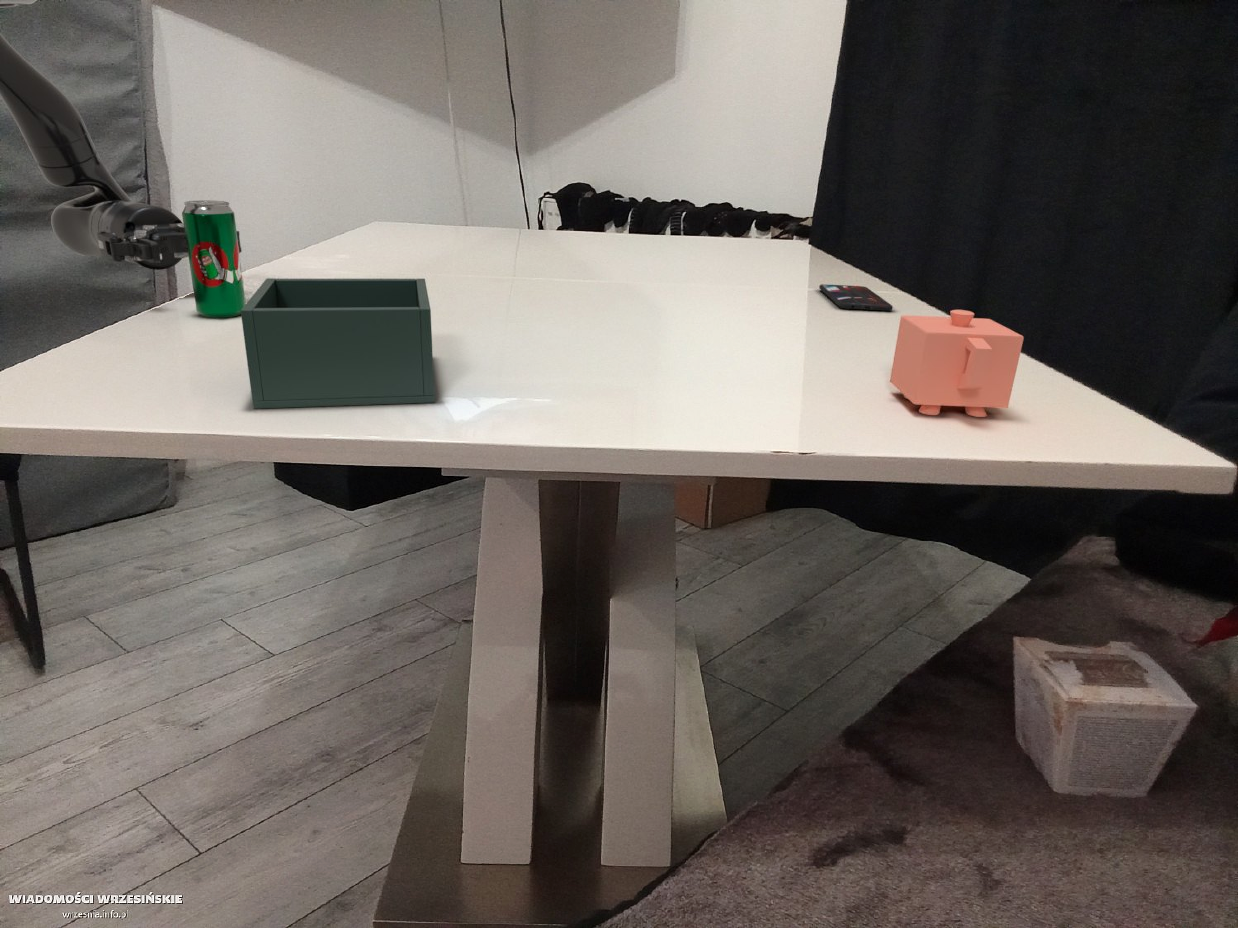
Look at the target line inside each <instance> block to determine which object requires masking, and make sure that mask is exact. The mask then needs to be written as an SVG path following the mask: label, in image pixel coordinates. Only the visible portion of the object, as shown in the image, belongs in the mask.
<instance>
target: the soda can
mask: <svg viewBox="0 0 1238 928" xmlns="http://www.w3.org/2000/svg"><path fill="white" fill-rule="evenodd" d="M183 203H184V205H185V206H184V208H183V210H182V213H181V216H182V223H183V224H184V230H185V237H186V243H187V250H188V257H187V258H188V262H189V263H188V264H189V270H190V277H191V282H192V289H193V296H194V303H195V310H196V311H197V312H198V314H199V315H201V316H203V317H205V318H211V319H224V318H226V319H227V318H234V317H238V316H241V310H242V308H243V307H244V306H245V305H246V303H247V302H246V294H245V288H244V280H243V272H242V263H241V257H240V253H239V247H238V239H237V231H238V230H237V224H236V215H235V212H234V210H233V209H232V208H231V206H230V202H229V201H226V200H225V201H224V200H201V199H200V200H188V201H187V200H186V201H184V202H183Z"/></svg>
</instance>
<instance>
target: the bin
mask: <svg viewBox="0 0 1238 928" xmlns="http://www.w3.org/2000/svg"><path fill="white" fill-rule="evenodd" d="M431 309H432V308H431V305H430V299H429V294H428V288H427V282H426V279H425V278H273V277H272V278H269V277H268V278H265V279H264V281H263V282H262V283H261V284H260V286H259V287H258V288H257V290H255V292H254V293H253V294H252V296H250V299H249V300H248V301H247V302H246V305H245V306H244V307H243V308H242V310H241V315H240V317H241V323H242V331H243V340H244V346H245V347H244V348H245V354H246V355H245V356H246V362H247V370H248V377H249V386H250V393H251V401H252V408H253V409H255V410H256V409H285V408H286V409H287V408H312V407H313V408H314V407H317V408H318V407H340V406H343V407H344V406H346V407H347V406H370V405H371V406H373V405H400V404H401V405H403V404H404V405H405V404H429V403H430V404H431V403H435V401H436V400H435V381H434V380H435V379H434V378H435V377H434V357H433V355H434V354H433V334H432V333H433V331H432V311H431Z"/></svg>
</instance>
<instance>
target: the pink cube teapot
mask: <svg viewBox="0 0 1238 928" xmlns="http://www.w3.org/2000/svg"><path fill="white" fill-rule="evenodd" d="M949 315H950V316H934V315H933V316H932V315H931V316H930V315H911V314H910V315H907V314H906V315H905V314H901V316H900V319H899V325H898V331H897V338H896V343H895V349H894V355H893V360H892V366H891V372H890V377H889V378H890V379H889V382H890V383H891V384H892V385H893V387H895V388H896V389H897V390H898V391H899V392H900V393H901V394H902V395H903V398H904V399H905V400H906V399H907V400H909V401H910V402H911V403H912V404H913V405H921V406H920V408H919V409H918V412H919V413H921V414H923V415H927V416H938V415H940V412H941V408H942V406H945V407H946V406H947V407H964V408H965V414H966V415H968V416H972V417H976V418H986V417H988V414H987V412H986V410H985V408H995V409H996V408H997V409H999V408H1000V409H1008V408H1009V405H1010V400H1011V395H1012V391H1013V388H1014V387H1013V386H1014V383H1015V379H1016V375H1017V374H1016V373H1017V369H1018V364H1019V360H1020V356H1021V352H1022V348H1023V344H1024V343H1023V342H1024V338H1025V337H1024V336H1023V335H1022V334H1019V333H1018V332H1016V331H1014V330H1013V329H1010V328H1009V327H1006V326H1004V325H1002V324H1001V323H999V322H996V321H995V320H993V319H991V318H981V317H980V318H978V317H975V313H974V312H973V311H970V310H966V309H965V310H964V309H952V310H950V313H949Z"/></svg>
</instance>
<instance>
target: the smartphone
mask: <svg viewBox="0 0 1238 928" xmlns="http://www.w3.org/2000/svg"><path fill="white" fill-rule="evenodd" d="M818 287H819V290H820V291H822V293H823V294H824V295H826V296H827V297H828V298H829V299H830V300H831V301H833V303H834V304H836V305H837V306H838V307H839V308H841V309H846V310H847V309H849V310H867V311H869V310H870V311H888V312H889V311H892V310H893V309H894V307H893V305H892V304H891V303H889V302H888V301H886V300H885V299H884V298H882V297H881V296H879V295H878V294H877V293H875V292H874V291H872V290H871V289H870V288H869V287H867V286H864V285H863V286H862V285H845V284H826V283H825V284H824V283H823V284H819V286H818Z"/></svg>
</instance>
